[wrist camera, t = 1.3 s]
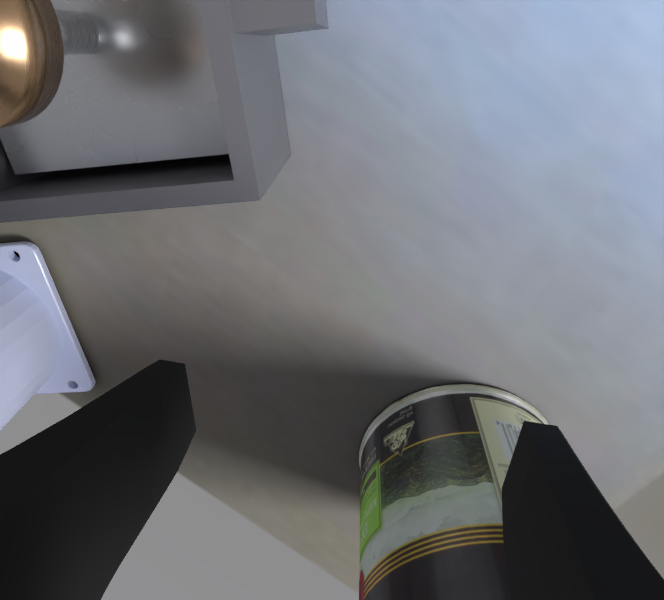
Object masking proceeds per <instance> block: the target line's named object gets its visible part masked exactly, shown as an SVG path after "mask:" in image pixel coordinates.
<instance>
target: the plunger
mask: <svg viewBox="0 0 664 600" xmlns="http://www.w3.org/2000/svg"><path fill="white" fill-rule="evenodd" d="M0 139H1V142H2V144H3V146H4V149H5V151H6V154H7V156H8V158H9V161H10V163H11V166H12V168H13V170H14V173H15V175H17V174H27V173H37V172H48V171H58V170H68V169H79V168H89V167H99V166H110V165H120V164H130V163H141V162H151V161H161V160H171V159H182V158H192V157H202V156H213V155H223V154H229V152H228V147H227V142H226V137H225V132H224V127H223V122H222V117H221V112H220V107H219V103H218V98H217V93H216V88H215V83H214V78H213V73H212V68H211V63H210V58H209V53H208V48H207V43H206V38H205V33H204V28H203V23H202V18H201V13H200V8H199V3H198V0H0Z"/></svg>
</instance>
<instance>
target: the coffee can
mask: <svg viewBox="0 0 664 600" xmlns="http://www.w3.org/2000/svg"><path fill="white" fill-rule="evenodd" d="M524 421H529V422H535V423H541V424H547V425H549V424H548V423H547V421H546V420H545V418H544V417H543V416H542V415H541V413H540V412H539V411H538V410H536V409H535V408H534V407H533V406H531V405H530V404H529V403H527V402H526V401H524V400H523V399H521V398H519V397H517V396H515V395H513V394H511V393H509V392H506V391H503V390H500V389H496V388H492V387H488V386H481V385H473V384H459V385H443V386H437V387H431V388H428V389H424V390H421V391H418V392H415V393H413V394H410V395H408V396H406V397H404V398H402V399H400V400H398V401H396V402H395V403H393V404H391V405H390V406H388V407H387V408H386V409H385V410H384V411H383V412H382V413H380V414H379V415H378V416H377V418H376V419H375V420H374V421H373V422H372V423H371V425H370V426H369V428H368V429H367V431H366V433H365V435H364V437H363V440H362V443H361V446H360V450H359V466H360V578H359V600H512V596H511V590H510V583H509V576H508V569H507V563H506V556H505V549H504V541H503V521H502V486H503V483H504V480H505V477H506V474H507V471H508V468H509V465H510V462H511V459H512V455H513V452H514V449H515V446H516V443H517V440H518V437H519V434H520V431H521V428H522V425H523V422H524Z"/></svg>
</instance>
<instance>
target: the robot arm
mask: <svg viewBox="0 0 664 600" xmlns="http://www.w3.org/2000/svg"><path fill="white" fill-rule="evenodd" d="M14 251H16V252H17V253H18V254H19V255H20V258H19V257H18V256H16V255H15V253H14ZM73 381H74V382H76V383H77V384H76V383H74V382H73ZM94 385H95V379H94V376H93V374H92V372H91V369H90V367H89V364H88V362H87V360H86V357H85V355H84V353H83V350H82V348H81V346H80V343H79V341H78V339H77V336H76V334H75V332H74V329H73V327H72V324H71V322H70V320H69V317H68V315H67V313H66V310H65V308H64V306H63V303H62V301H61V299H60V296H59V294H58V292H57V289H56V287H55V284H54V282H53V280H52V277H51V275H50V273H49V270H48V268H47V266H46V263H45V261H44V259H43V256H42V254H41V252H40V250H39V248H38V247H37V246H36V245H35V244H33V243H31V242H26V241H24V242H12V243H0V430H1V429H2V428H3V427H4V426H5V425H6V424H7V423H8V421H10V420H11V418H13V416H14V415H15V414H16V413H17V412H18V411H19V410H20V409H21V408H22V407H23V405H25V404H26V403H27V402H28V401H29V400H30V399H31V397H32V396H33V395H34V394H44V393H67V392H87V391H90V390H91V389H92V388H93V387H94ZM195 431H196V427H195V421H194V415H193V409H192V403H191V397H190V392H189V386H188V380H187V374H186V368H185V364H183V363H177V362H171V361H165V360H158V361H157V362H155V363H153V364H151V365H150V366H148V367H146V368H145V369H143V370H141V371H140V372H138V373H137V374H135V375H133V376H132V377H130V378H129V379H127V380H125V381H124V382H122V383H121V384H119V385H117V386H116V387H114V388H113V389H111V390H110V391H108V392H106V393H105V394H103V395H102V396H100V397H98V398H97V399H95V400H94V401H92V402H90V403H89V404H87V405H85V406H84V407H82V408H81V409H79V410H77V411H76V412H74V413H73V414H71V415H69V416H68V417H66V418H65V419H63V420H61V421H59V422H57V423H56V424H54V425H52V426H50V427H49V428H47V429H45V430H43V431H42V432H40V433H38V434H36V435H35V436H33V437H31V438H29V439H28V440H26V441H24V442H22V443H21V444H19V445H17V446H15V447H14V448H12V449H10V450H8V451H6V452H4V453H2V454H1V455H0V600H101V598H102V596H103V594H104V592H105V590H106V588H107V587H108V585H109V583H110V581H111V579H112V578H113V576H114V574H115V572H116V571H117V569H118V567H119V565H120V564H121V562H122V561H123V559H124V557H125V556H126V554H127V553H128V551H129V549H130V548H131V546H132V545H133V543H134V541H135V540H136V538H137V536H138V535H139V533H140V532H141V530H142V528H143V527H144V525H145V523H146V522H147V520H148V519H149V517H150V515H151V514H152V512H153V511H154V509H155V507H156V506H157V504H158V502H159V501H160V499H161V497H162V496H163V494H164V493H165V491H166V489H167V488H168V486H169V484H170V483H171V481H172V479H173V478H174V476H175V474H176V473H177V471H178V469H179V467H180V464H181V462H182V460H183V458H184V456H185V454H186V452H187V449H188V447H189V445H190V443H191V440H192V438H193V436H194V433H195ZM502 521H503V541H504V549H505V556H506V563H507V569H508V576H509V583H510V590H511V596H512V600H664V579H663V578H662V577H661V575H660V574H659V573H658V571H657V570H656V569H655V567H654V566H653V565H652V564H651V563H650V561H649V560H648V558H647V557H646V556H645V554H644V553H643V552H642V550H641V549H640V547H639V546H638V545H637V543H636V542H635V541H634V539H633V538H632V536H631V535H630V534H629V532H628V531H627V530H626V528H625V527H624V525H623V524H622V522H621V521H620V520H619V518H618V517H617V515H616V514H615V513H614V511H613V510H612V508H611V507H610V505H609V504H608V502H607V501H606V500H605V498H604V497H603V495H602V494H601V492H600V491H599V489H598V488H597V486H596V485H595V483H594V482H593V480H592V479H591V477H590V476H589V474H588V473H587V471H586V470H585V468H584V466H583V465H582V463H581V462H580V460H579V459H578V457H577V456H576V454H575V453H574V451H573V449H572V448H571V446H570V445H569V443H568V442H567V440H566V438H565V437H564V435H563V434H562V432H561V431H560V430H559V428H558V427H557V426H553V425H547V424H541V423H535V422H529V421H524V422H523V425H522V428H521V431H520V434H519V437H518V440H517V443H516V446H515V449H514V452H513V455H512V459H511V462H510V465H509V468H508V471H507V474H506V477H505V480H504V483H503V486H502Z"/></svg>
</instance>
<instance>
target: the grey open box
mask: <svg viewBox="0 0 664 600" xmlns="http://www.w3.org/2000/svg"><path fill="white" fill-rule="evenodd" d="M198 3H199V8H200V13H201V18H202V23H203V28H204V33H205V38H206V43H207V48H208V53H209V58H210V63H211V68H212V73H213V78H214V83H215V88H216V93H217V98H218V103H219V107H220V112H221V117H222V122H223V127H224V132H225V137H226V142H227V147H228V152H229V154H223V155H213V156H202V157H192V158H182V159H171V160H161V161H151V162H141V163H130V164H120V165H110V166H99V167H89V168H79V169H68V170H58V171H48V172H37V173H27V174H17V175H15V173H14V170H13V168H12V166H11V163H10V161H9V158H8V156H7V154H6V151H5V149H4V146H3V144H2V142H1V139H0V222H12V221H23V220H35V219H47V218H58V217H70V216H82V215H93V214H105V213H117V212H129V211H140V210H152V209H164V208H175V207H187V206H199V205H210V204H222V203H234V202H245V201H257V200H260V199H261V198H262V196H263V195H264V194H265V192H266V191H267V189H268V188H269V186H270V185H271V183H272V182H273V180H274V179H275V177H276V176H277V175H278V173H279V172H280V170H281V169H282V167H283V166H284V164H285V163H286V161H287V160H288V158H289V157H290V156H291V153H290V146H289V139H288V131H287V124H286V117H285V110H284V103H283V96H282V89H281V82H280V75H279V68H278V61H277V54H276V47H275V40H274V35H277V34H285V33H293V32H302V31H310V30H318V29H326V28H328V18H327V7H326V0H198Z"/></svg>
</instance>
